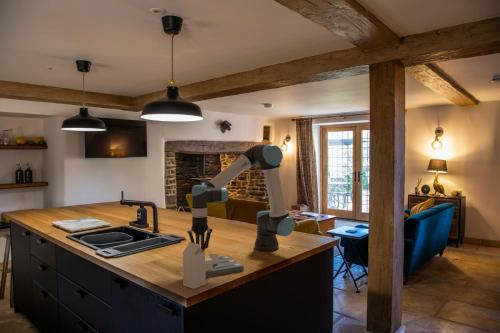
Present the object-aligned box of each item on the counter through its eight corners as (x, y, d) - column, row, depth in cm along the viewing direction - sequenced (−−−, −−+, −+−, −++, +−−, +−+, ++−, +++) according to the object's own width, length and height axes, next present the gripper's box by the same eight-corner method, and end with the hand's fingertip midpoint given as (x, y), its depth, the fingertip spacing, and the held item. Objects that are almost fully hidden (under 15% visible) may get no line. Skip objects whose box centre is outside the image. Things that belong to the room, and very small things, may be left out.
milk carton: (193, 289, 153) (192, 246, 153) (183, 285, 158) (182, 243, 157) (205, 284, 159) (205, 243, 158) (195, 281, 163) (194, 240, 163)
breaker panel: (227, 259, 195) (227, 246, 195) (243, 270, 177) (243, 255, 177) (185, 266, 184) (185, 252, 184) (197, 278, 166) (197, 263, 166)
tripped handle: (216, 261, 183) (216, 251, 183) (218, 263, 180) (218, 253, 180) (208, 262, 181) (208, 252, 181) (211, 264, 178) (211, 254, 178)
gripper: (189, 218, 170) (190, 266, 171) (214, 216, 176) (215, 262, 177) (184, 216, 177) (185, 262, 178) (209, 213, 183) (209, 258, 184)
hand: (200, 262), depth 177 cm, fingers closed
